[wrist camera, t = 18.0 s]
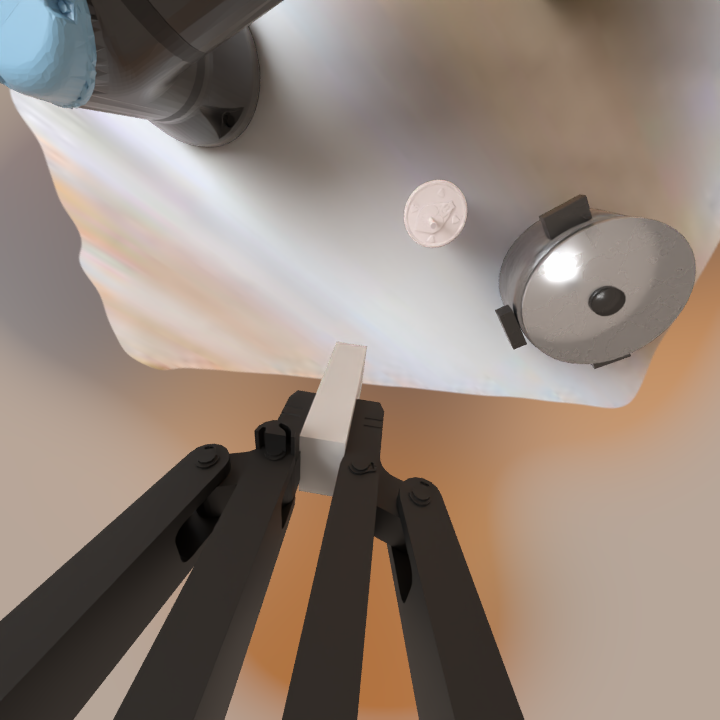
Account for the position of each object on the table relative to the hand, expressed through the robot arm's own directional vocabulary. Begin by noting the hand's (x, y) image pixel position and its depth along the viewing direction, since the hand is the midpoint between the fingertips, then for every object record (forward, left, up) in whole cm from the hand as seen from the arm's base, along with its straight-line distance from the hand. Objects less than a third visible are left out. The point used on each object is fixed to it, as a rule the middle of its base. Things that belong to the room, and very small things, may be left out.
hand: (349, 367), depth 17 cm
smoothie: (+5, +5, -33) cm, 33 cm away
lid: (+24, -1, -23) cm, 33 cm away
